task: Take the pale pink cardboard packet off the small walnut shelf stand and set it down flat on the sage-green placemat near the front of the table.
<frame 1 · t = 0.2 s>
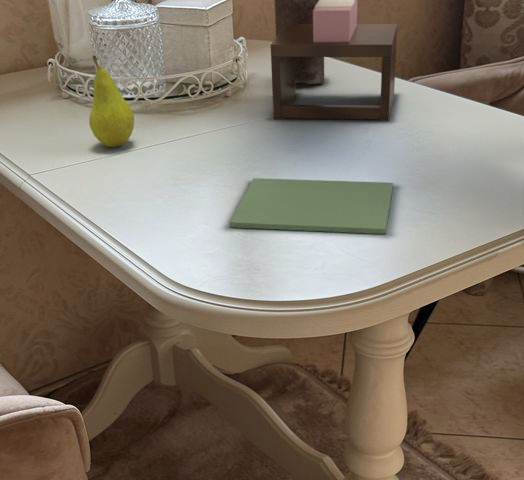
fruit: (115, 147, 105), on the table
placemat: (314, 206, 85), on the table
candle: (300, 84, 125), on the table
shelf stand: (335, 106, 114), on the table
packet: (335, 33, 108), point 10 cm above the table, touching shelf stand
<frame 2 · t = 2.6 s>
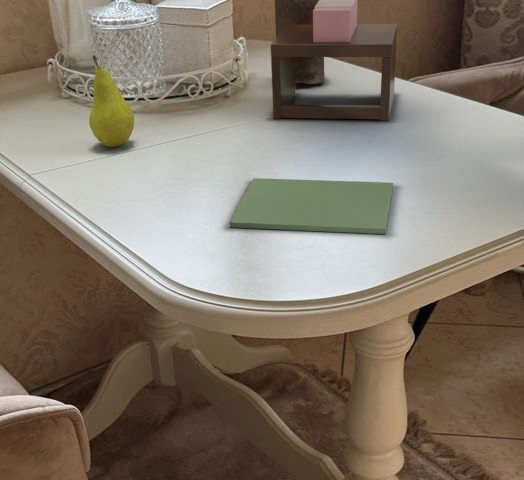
nothing on the table moved.
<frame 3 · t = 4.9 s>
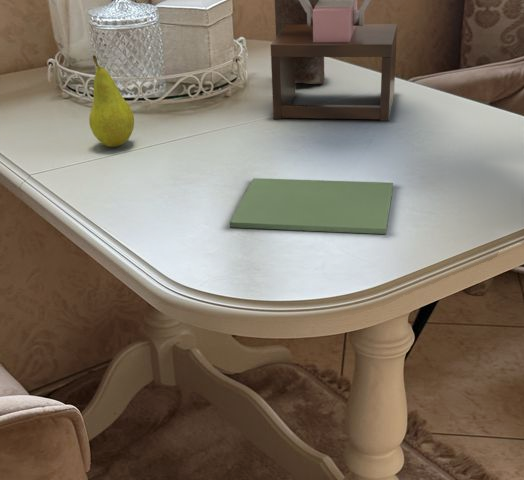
hand: (335, 25, 108), 11 cm above the table, tool pointing down, fingers closed on packet, 5 cm apart
packet: (335, 33, 108), point 10 cm above the table, touching gripper, shelf stand
everything else where it was.
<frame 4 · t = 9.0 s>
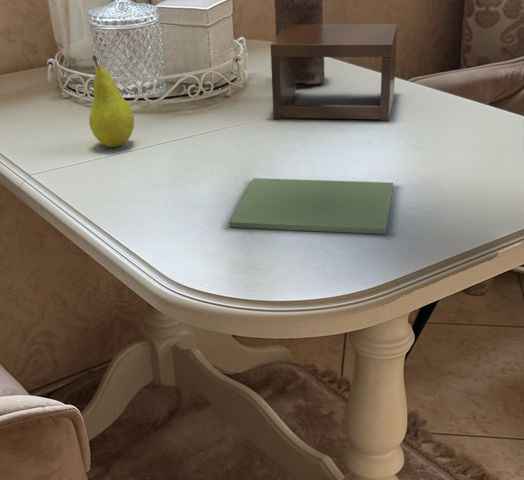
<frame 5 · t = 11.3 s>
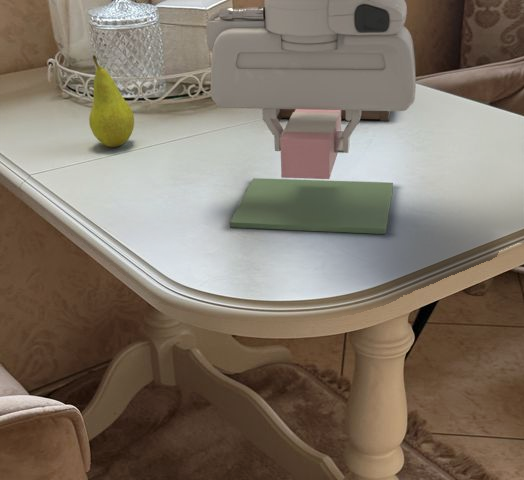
hand: (312, 150, 82), 6 cm above the table, tool pointing down, fingers closed on packet, 5 cm apart
packet: (312, 160, 82), point 5 cm above the table, touching gripper
everything else where it was.
when the fingers open (2 cm above the table, at t = 13.1 s): packet stays where it is, resting on placemat.
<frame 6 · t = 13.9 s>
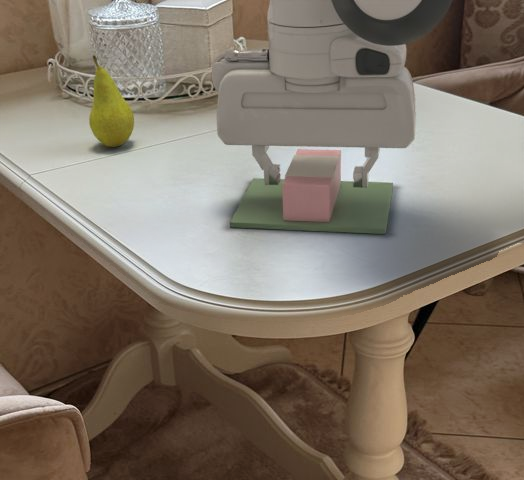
hand: (316, 184, 84), 2 cm above the table, tool pointing down, fingers open, 8 cm apart
packet: (313, 201, 85), point 1 cm above the table, touching placemat
everything else where it was.
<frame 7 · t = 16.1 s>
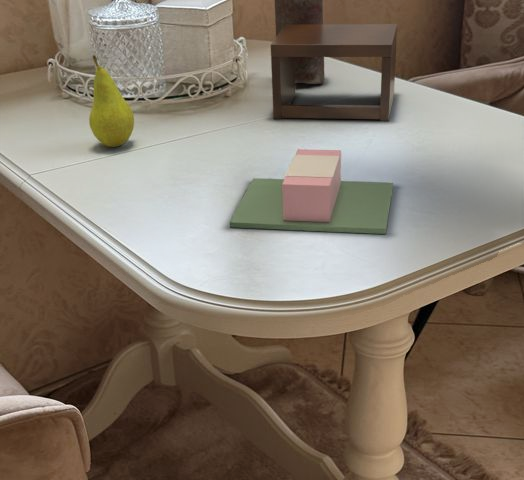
nothing on the table moved.
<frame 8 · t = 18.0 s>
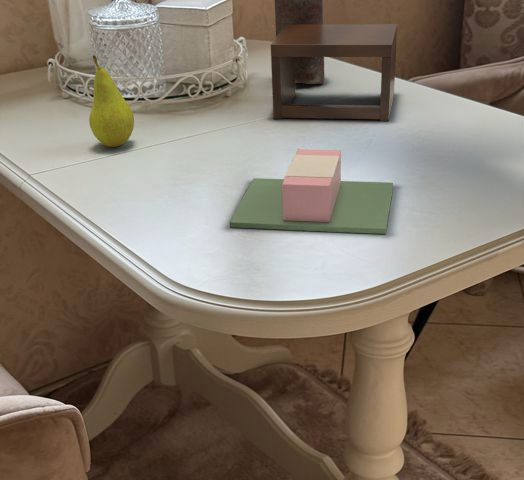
nothing on the table moved.
at the end: packet inside the target area on the placemat (0.1 cm from its centre), point 0.6 cm above the placemat's base; packet tilted 0°; the gripper is holding nothing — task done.
